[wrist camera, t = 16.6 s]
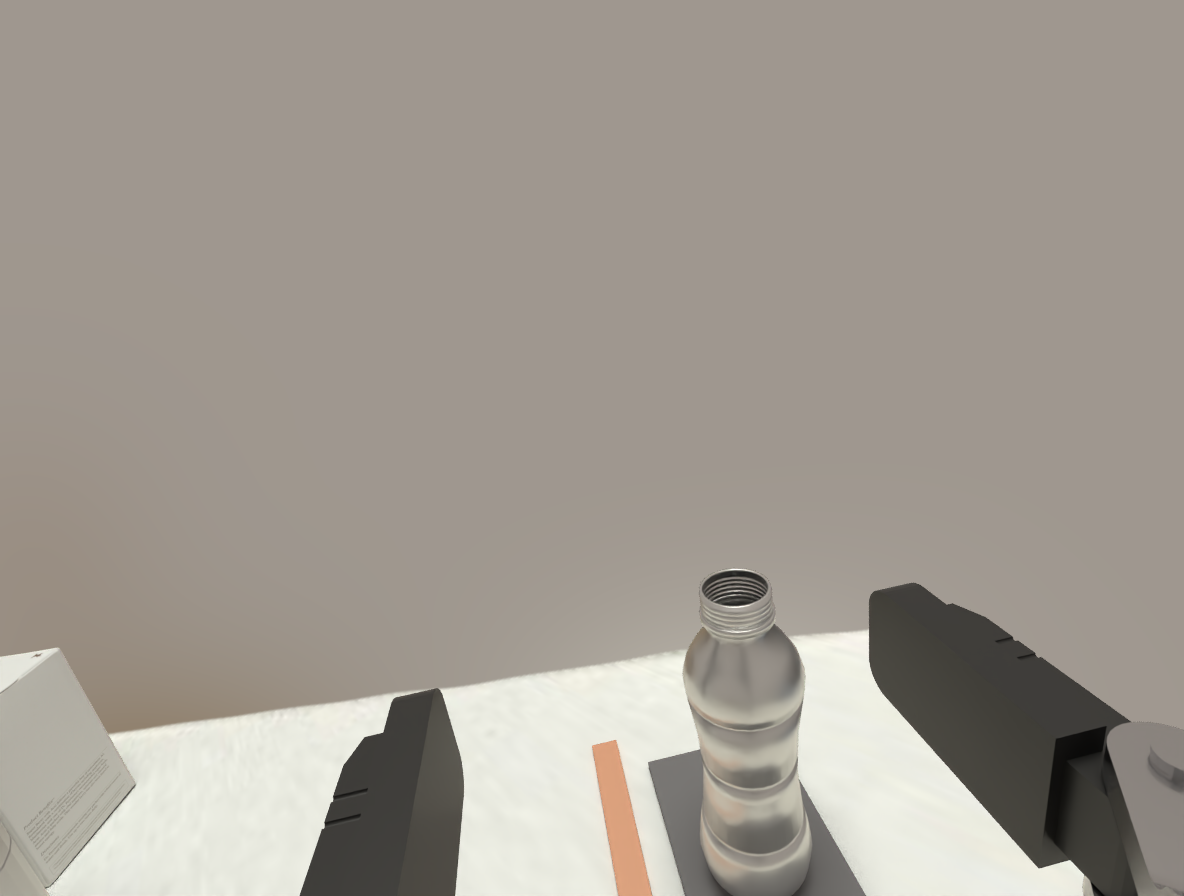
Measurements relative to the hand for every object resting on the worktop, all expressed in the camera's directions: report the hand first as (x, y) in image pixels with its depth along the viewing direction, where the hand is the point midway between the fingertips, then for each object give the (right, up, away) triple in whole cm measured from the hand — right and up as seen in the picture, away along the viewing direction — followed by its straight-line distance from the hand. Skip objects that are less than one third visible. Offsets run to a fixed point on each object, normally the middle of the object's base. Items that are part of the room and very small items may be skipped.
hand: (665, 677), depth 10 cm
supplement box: (-46, -28, +36) cm, 64 cm away
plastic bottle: (+9, -22, +25) cm, 34 cm away
